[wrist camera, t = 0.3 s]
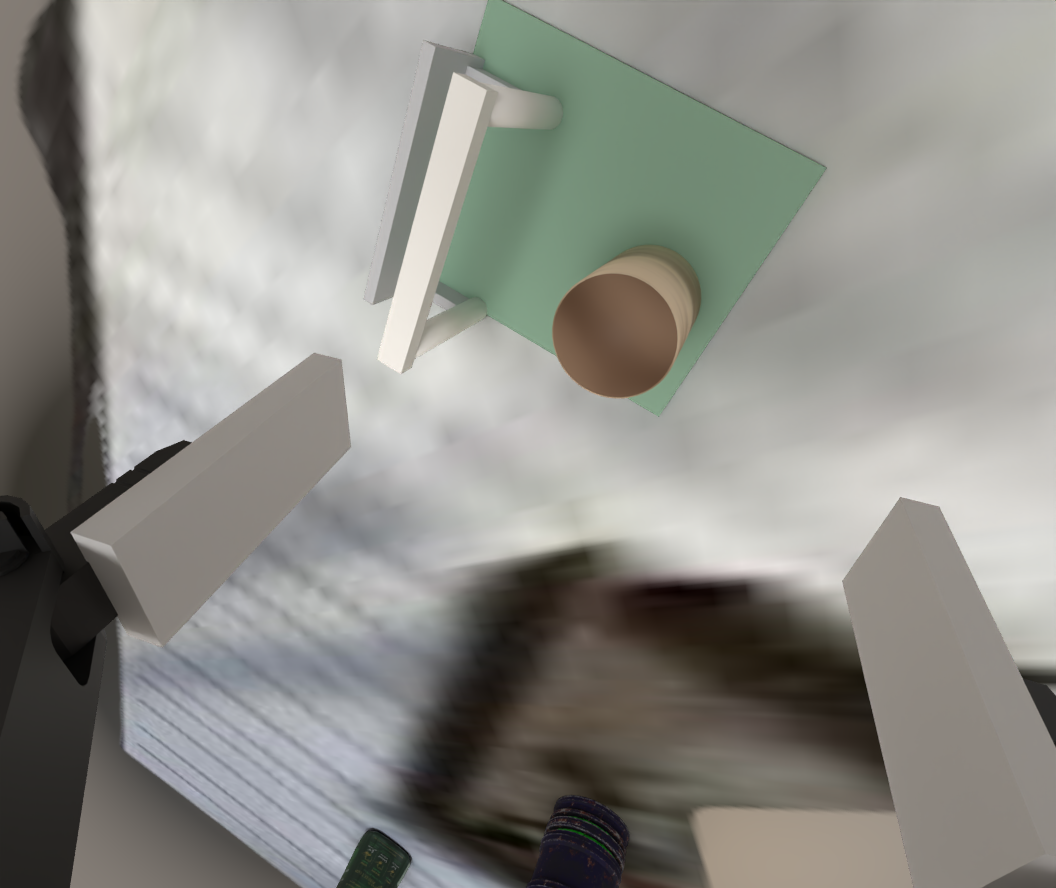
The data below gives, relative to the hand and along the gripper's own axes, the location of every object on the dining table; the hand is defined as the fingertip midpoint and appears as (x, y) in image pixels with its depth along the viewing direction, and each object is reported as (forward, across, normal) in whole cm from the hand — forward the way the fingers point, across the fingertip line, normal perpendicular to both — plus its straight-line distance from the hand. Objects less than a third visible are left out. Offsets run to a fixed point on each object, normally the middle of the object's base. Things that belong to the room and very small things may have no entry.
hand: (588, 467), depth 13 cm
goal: (+28, -13, -2) cm, 31 cm away
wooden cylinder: (+26, 0, -5) cm, 27 cm away
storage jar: (+20, +9, -70) cm, 73 cm away
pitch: (+28, -5, -2) cm, 28 cm away
